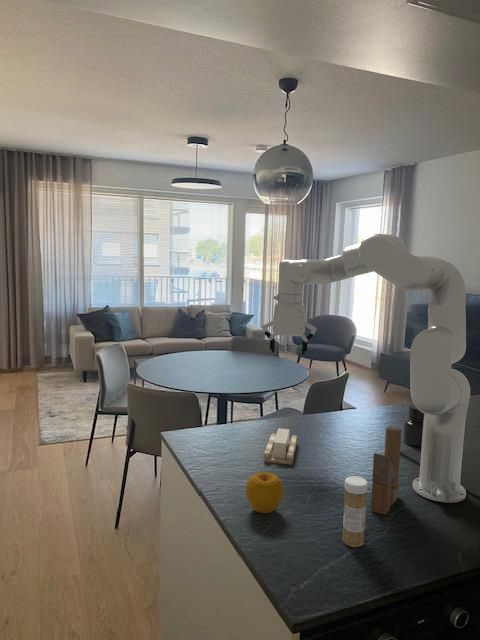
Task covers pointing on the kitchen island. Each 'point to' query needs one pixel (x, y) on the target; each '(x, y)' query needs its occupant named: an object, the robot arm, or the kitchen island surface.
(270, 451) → the rack
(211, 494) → the kitchen island surface
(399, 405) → the kitchen island surface
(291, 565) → the kitchen island surface
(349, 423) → the kitchen island surface
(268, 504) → the apple
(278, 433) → the strip
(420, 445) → the ink bottle
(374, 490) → the stepped wooden upright
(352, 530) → the sprinkles bottle
